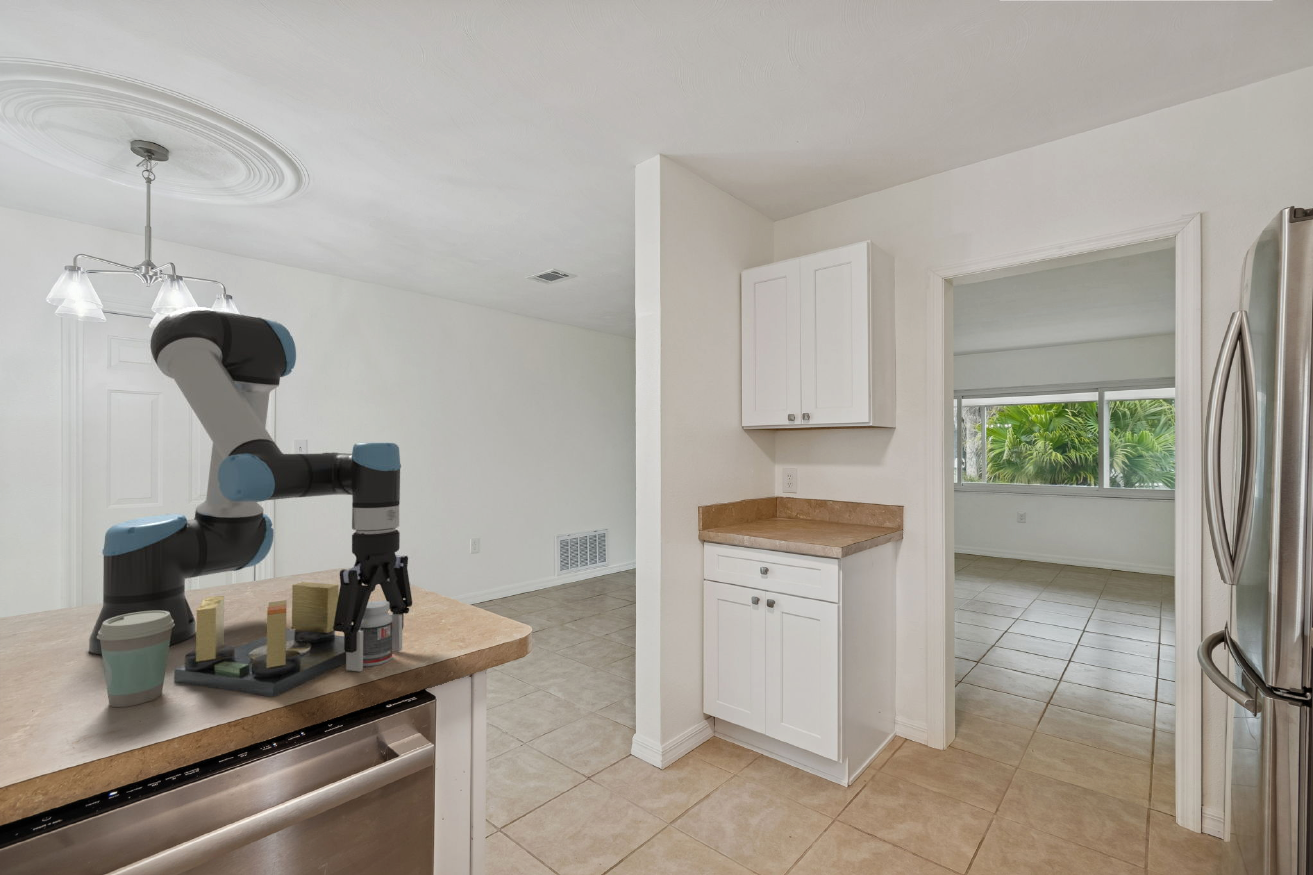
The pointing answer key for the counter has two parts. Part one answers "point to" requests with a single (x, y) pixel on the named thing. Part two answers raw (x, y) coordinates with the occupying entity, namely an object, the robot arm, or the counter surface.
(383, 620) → the pill bottle
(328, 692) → the counter surface
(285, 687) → the plate
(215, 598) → the foot screw
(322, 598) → the foot screw
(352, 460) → the robot arm
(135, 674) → the coffee cup
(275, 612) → the tan bar on disc
